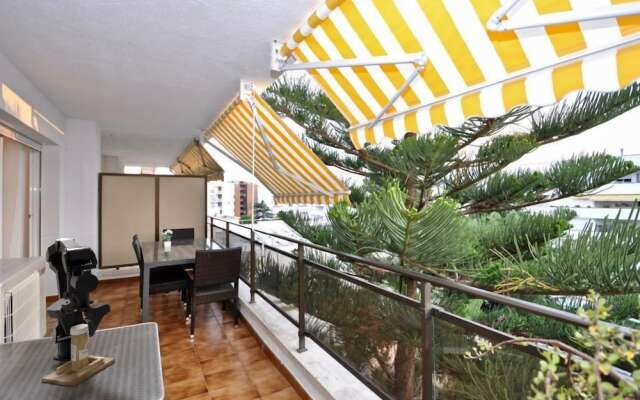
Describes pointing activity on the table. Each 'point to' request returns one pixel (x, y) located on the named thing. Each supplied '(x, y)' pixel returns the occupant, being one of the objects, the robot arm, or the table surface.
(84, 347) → the sprinkles bottle
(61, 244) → the robot arm
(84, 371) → the bottle cradle
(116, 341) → the table surface
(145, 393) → the table surface
